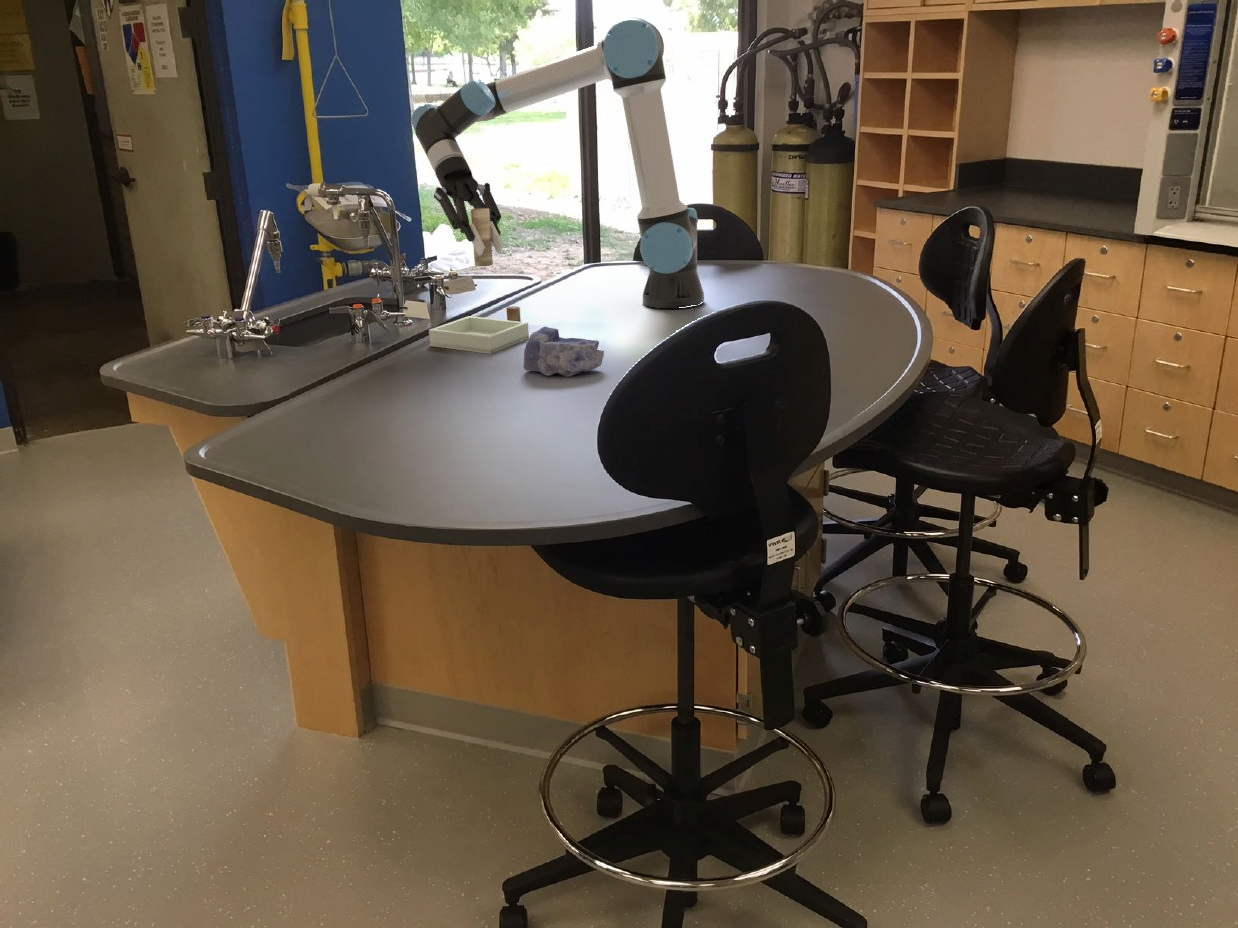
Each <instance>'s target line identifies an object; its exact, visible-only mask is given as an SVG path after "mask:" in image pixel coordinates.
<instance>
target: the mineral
mask: <svg viewBox="0 0 1238 928" xmlns="http://www.w3.org/2000/svg"><path fill="white" fill-rule="evenodd" d="M559 332H560V331H559V329H557V328H553V327H548V326H543V327H541V328H539V329H538V330H537V331H534V332H532V333H531V334H529V339H527V341H526V344H525V348H524V351H523V369H524V370H525V371H527V372H528V371H531V372H539V373H541V374H542V375H544V376H549V377H550V376H553V375H554V374H559V375H561V376H562V377H565V378H567V377H568V378H569V377H573V376H574V375H576V374H579V373H581V372H583V371H593V370H595V369H597V368H599V367H601V366H602V364H603V360H604V355H605V350H602V349H601V350H600V349H598V347H599V345H600V340H597V339H596V340H592V339H585V338H580V337H579V338H577V337H566V338H565V337H560V333H559Z"/></svg>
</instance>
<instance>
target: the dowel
mask: <svg viewBox="0 0 1238 928" xmlns="http://www.w3.org/2000/svg"><path fill="white" fill-rule="evenodd" d="M470 217H471V218H470V219H471V224H472V223H474V226H475V228H476V230H477V232H478V234H479V236H480V238H481V240H482V242H483V244H484V246H485V249H484V251H483V253H482V255H478V254H477V251H476V249H475V247H474V245H473V244H472V246H473V258H474V259H473V260H474V266H475V267H488V266H493V265H494V263H493V261H494V260H493V247H492V246H493V243H492V241H491V227H490V212H489V209H488V208H476V209H474V208H471V209H470Z"/></svg>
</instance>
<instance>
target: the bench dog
mask: <svg viewBox="0 0 1238 928" xmlns="http://www.w3.org/2000/svg"><path fill="white" fill-rule="evenodd" d="M505 309H506V310H505V311H506V320H509V321H518V322H522V321H521V319H522V318H521V307H520V306H516V305H515V306H507V307H506V308H505Z"/></svg>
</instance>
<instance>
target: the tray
mask: <svg viewBox="0 0 1238 928" xmlns="http://www.w3.org/2000/svg"><path fill="white" fill-rule="evenodd" d="M428 336H429V346H430V347H436V348H443V349H451V350H457V351H466V352H475V353H482V354H487V355H489V354H490V355H491V354H494V353H497V352H499V351H502V350H504V349H507V348H508V347H511V346H513V345H514V346H515V345H516V344H519V343H521V342H524V341H526V340H529V338H530V334H529V322H527V321H526V322H525V321H521V322H518V321H509V320H507V319H499V318H490V317H489V318H488V317H481V316H480V317H479V316H473V315H472V316H471V315H470V316H469V315H468V316H465V317H462V318H460V319H456V320H454V321H451V322H448V323H445V324H441V325H439V326H436V327H433V328H430V329H428Z"/></svg>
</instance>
